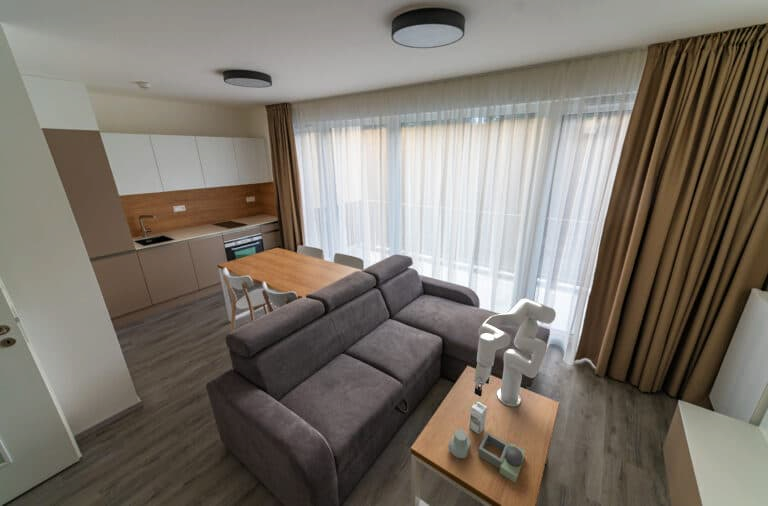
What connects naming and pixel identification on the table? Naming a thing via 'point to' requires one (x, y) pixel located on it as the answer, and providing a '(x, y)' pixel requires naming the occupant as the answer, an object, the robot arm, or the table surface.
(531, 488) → the table surface
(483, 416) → the syrup box
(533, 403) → the table surface
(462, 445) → the air freshener
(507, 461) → the grey square sleeve
